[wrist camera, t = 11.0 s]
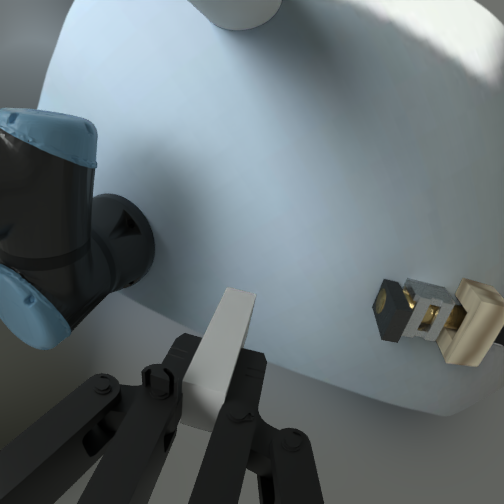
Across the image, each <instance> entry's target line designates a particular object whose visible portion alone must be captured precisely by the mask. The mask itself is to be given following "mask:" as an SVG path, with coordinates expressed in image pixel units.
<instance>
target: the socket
mask: <svg viewBox="0 0 504 504" xmlns="http://www.w3.org/2000/svg"><path fill="white" fill-rule="evenodd" d="M455 295H456V297H457V298H458V300H459V301H460V303H461V304H462V305H463V307H464V308H465V310H466V311H467V315H466V316H465V318H464V320H463V322H462V324H461V326H460V327H459V329H458V330H457V329H451V328H446V327H443V328H442V330H441V332H440V333H439V336H438V337H437V339H436V342H437V344H438V346H439V348H440V350H441V353H442V355H443V357H444V359H445V362H446V363H449V364H457V365H466V366H475V367H478V365H479V364H480V362H481V361H482V359H483V358H484V356H485V355H486V353H487V352H488V350H489V349H490V347H491V345H492V344H493V342H494V341H495V339H496V337H497V336H498V334H499V332H500V330H501V329H502V327H503V325H504V299H503V298H502V296H501V295H500V294H499V293H498V292H497V291H496V290H495V288H494V287H493V286H490V285H486V284H483V283H479V282H476V281H472V280H469V279H465V278H462V281H461V283H460V285H459V287H458V289H457V291H456V293H455Z"/></svg>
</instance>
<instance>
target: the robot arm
mask: <svg viewBox="0 0 504 504" xmlns="http://www.w3.org/2000/svg"><path fill="white" fill-rule="evenodd" d="M97 138H98V134H97V129H96V127H95V126H94V124H93V123H92V122H90V121H89V120H87V119H84V118H81V117H77V116H73V115H68V114H63V113H57V112H51V111H44V110H35V109H24V108H1V109H0V318H1V320H2V321H3V322H4V323H5V325H6V326H7V327H8V328H9V329H10V330H11V331H12V332H13V333H14V334H15V335H16V336H17V337H18V338H19V339H21V340H22V341H23V342H25V343H26V344H28V345H30V346H32V347H34V348H37V349H40V350H49V349H51V348H54V347H55V346H57V345H58V344H59V343H60V342H61V341H62V340H64V339H65V338H66V337H69V336H70V334H71V332H72V331H73V330H74V328H76V327H77V325H78V324H80V322H81V321H82V320H83V319H84V318H85V317H86V316H87V315H88V314H89V313H90V312H91V311H92V310H93V309H94V308H95V307H96V306H97V305H98V304H99V303H100V302H101V301H102V300H103V299H104V298H105V297H106V296H107V295H108V294H109V293H112V292H115V291H118V290H121V289H123V288H127V287H130V286H132V285H134V284H135V283H137V282H138V281H139V280H140V279H141V278H142V277H143V276H144V275H145V274H146V273H147V272H148V270H149V269H150V267H151V265H152V262H153V258H154V250H155V247H154V239H153V234H152V231H151V228H150V226H149V224H148V222H147V220H146V218H145V217H144V215H143V214H142V212H141V211H140V210H139V209H138V208H137V207H136V206H135V205H134V204H133V203H131V202H130V201H129V200H127V199H125V198H123V197H121V196H118V195H115V194H101V195H98V196H95V197H93V186H94V176H95V168H97V162H96V152H97ZM255 298H256V294H254V293H250V292H246V291H242V290H238V289H234V288H230V287H227V288H226V290H225V292H224V294H223V296H222V298H221V301H220V303H219V305H218V307H217V309H216V311H215V313H214V315H213V317H212V319H211V322H210V324H209V326H208V328H207V330H206V332H205V334H204V336H203V338H201V337H197V336H194V335H190V334H187V333H184V334H182V335H181V336H179V337H178V338H176V340H175V341H174V343H173V345H172V347H171V348H170V350H169V352H168V354H167V355H166V357H165V359H164V360H163V362H162V364H152V365H149V366H147V367H145V368H144V369H143V370H142V385H139V386H130V385H121V384H119V382H118V380H117V379H116V378H115V377H113V376H111V375H109V374H102V373H101V374H96V375H94V376H92V377H90V378H89V379H88V380H86V381H85V382H84V383H83V384H81V385H80V386H79V387H78V388H76V389H75V390H74V391H73V392H72V393H70V394H69V395H68V396H67V397H65V398H64V399H63V400H62V401H60V402H59V403H58V404H57V405H56V406H54V407H53V408H52V409H50V410H49V411H48V412H47V413H46V414H44V415H43V416H42V417H41V418H39V419H38V420H37V421H36V422H34V423H33V424H32V425H31V426H30V427H28V428H27V429H26V430H25V431H23V432H22V433H21V434H20V435H19V436H17V437H16V438H15V439H14V440H13V441H11V442H10V443H9V444H7V445H6V446H5V447H4V448H3V449H1V450H0V504H54V503H55V502H56V501H57V500H58V499H59V498H60V497H61V496H62V495H63V494H64V493H65V492H66V491H67V490H68V489H69V488H70V487H71V486H72V485H73V484H74V483H75V482H76V481H77V480H78V479H79V478H80V477H81V476H82V475H83V474H84V473H85V472H86V471H87V470H88V469H89V468H90V467H91V466H92V465H93V464H94V463H95V462H96V461H97V460H98V459H99V458H100V457H101V456H102V455H103V454H104V455H103V457H102V459H101V460H100V462H99V464H98V466H97V468H96V470H95V471H94V473H93V475H92V477H91V479H90V480H89V482H88V484H87V486H86V488H85V490H84V491H83V493H82V495H81V497H80V499H79V501H78V503H77V504H148V501H149V499H150V496H151V494H152V491H153V489H154V487H155V484H156V482H157V479H158V477H159V475H160V472H161V470H162V467H163V465H164V463H165V460H166V458H167V455H168V453H169V451H170V448H171V446H172V443H173V441H174V438H175V436H176V432H177V425H178V422H179V420H180V418H181V422H180V423H182V424H185V425H188V426H191V427H195V428H198V429H202V430H205V431H208V432H212V434H211V437H210V440H209V443H208V446H207V449H206V452H205V456H204V458H203V461H202V465H201V467H200V470H199V473H198V476H197V479H196V482H195V485H194V488H193V491H192V494H191V497H190V500H189V503H188V504H238V500H239V496H240V492H241V488H242V484H243V479H244V475H245V471H246V468H247V469H248V470H250V471H252V472H254V473H256V474H257V480H258V490H259V499H260V504H324V501H323V497H322V492H321V487H320V483H319V478H318V474H317V469H316V465H315V461H314V456H313V451H312V447H311V443H310V441H309V439H308V436H307V435H306V434H304V433H303V432H302V431H300V430H298V429H294V428H285V429H281V430H278V429H276V428H274V427H272V426H270V425H269V424H267V423H266V422H264V420H263V419H262V418H261V416H260V415H259V412H258V404H259V400H260V395H261V390H262V385H263V380H264V374H265V370H266V364H267V361H266V358H265V355H264V353H261V352H256V351H252V350H248V349H244V348H243V347H244V344H245V340H246V337H247V333H248V329H249V324H250V320H251V316H252V311H253V307H254V303H255Z"/></svg>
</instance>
